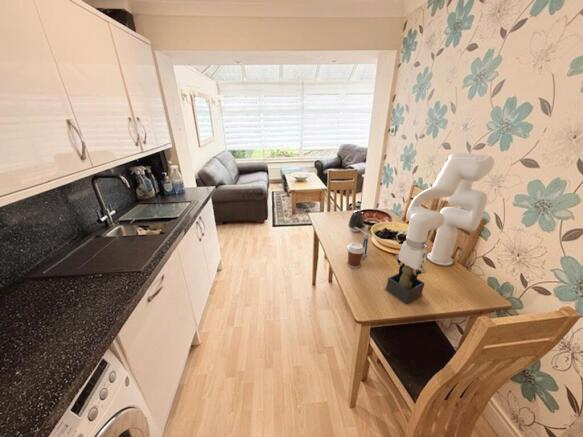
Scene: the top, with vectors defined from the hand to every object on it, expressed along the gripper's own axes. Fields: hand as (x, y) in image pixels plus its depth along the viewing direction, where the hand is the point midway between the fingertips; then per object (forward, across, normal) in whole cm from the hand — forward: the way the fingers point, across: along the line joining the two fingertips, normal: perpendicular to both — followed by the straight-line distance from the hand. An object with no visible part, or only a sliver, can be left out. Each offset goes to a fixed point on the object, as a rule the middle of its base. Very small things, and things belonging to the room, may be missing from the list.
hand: (407, 276), depth 108 cm
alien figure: (+9, +32, -6) cm, 34 cm away
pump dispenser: (+9, +58, -27) cm, 65 cm away
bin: (+9, 0, 0) cm, 9 cm away
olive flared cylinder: (+6, 0, 0) cm, 6 cm away
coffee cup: (+9, +28, +4) cm, 30 cm away
